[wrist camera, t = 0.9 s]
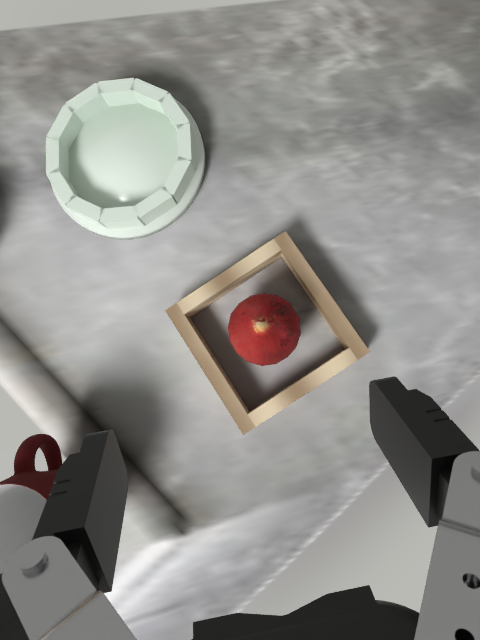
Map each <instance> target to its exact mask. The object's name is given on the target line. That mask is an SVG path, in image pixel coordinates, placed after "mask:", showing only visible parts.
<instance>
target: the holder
mask: <svg viewBox="0 0 480 640" xmlns="http://www.w3.org/2000/svg"><path fill="white" fill-rule="evenodd" d="M280 258H282V259H283V261H284V262H285V263H286V265H287V266H288V268H289V269H290V271H291V272H292V274H293V275H294V276H295V278H296V279H297V281H298V282H299V284H300V285H301V287H302V288H303V289H304V291H305V292H306V294H307V295H308V297H309V298H310V300H311V301H312V302H313V304H314V305H315V307H316V308H317V310H318V311H319V313H320V314H321V315H322V317H323V318H324V320H325V321H326V323H327V324H328V326H329V327H330V328H331V330H332V331H333V333H334V334H335V336H336V337H337V339H338V340H339V341H340V343H341V344H342V346H343V347H344V350H343V351H341V352H340V353H338V354H337V355H335V356H334V357H332V358H330V359H329V360H327V361H326V362H324V363H323V364H321V365H320V366H318V367H317V368H315V369H314V370H312V371H311V372H309V373H308V374H306V375H305V376H303V377H302V378H300V379H298V380H297V381H295V382H294V383H292V384H291V385H289V386H288V387H286V388H285V389H283V390H282V391H280V392H279V393H277V394H276V395H274V396H273V397H271V398H270V399H268V400H267V401H265V402H263V403H262V404H260V405H259V406H257V407H256V408H254V409H253V410H251V411H249V410H248V408H247V406H246V405H245V403H244V402H243V400H242V399H241V397H240V395H239V394H238V392H237V391H236V389H235V388H234V386H233V384H232V383H231V381H230V380H229V378H228V377H227V375H226V373H225V372H224V370H223V369H222V367H221V366H220V364H219V362H218V361H217V359H216V358H215V356H214V355H213V353H212V352H211V350H210V348H209V347H208V345H207V344H206V342H205V341H204V339H203V337H202V336H201V334H200V333H199V331H198V330H197V328H196V326H195V325H194V323H193V322H192V320H191V319H190V317H192V316H193V315H195V314H197V313H198V312H200V311H201V310H203V309H204V308H206V307H207V306H209V305H210V304H212V303H213V302H215V301H216V300H218V299H219V298H221V297H222V296H224V295H225V294H227V293H228V292H230V291H231V290H233V289H234V288H236V287H237V286H239V285H240V284H242V283H243V282H245V281H246V280H248V279H249V278H251V277H252V276H254V275H256V274H257V273H259V272H260V271H262V270H263V269H265V268H266V267H268V266H269V265H271V264H272V263H274V262H275V261H277V260H278V259H280ZM165 311H166V313H167V314H168V316H169V317H170V319H171V321H172V322H173V324H174V325H175V327H176V329H177V330H178V332H179V333H180V335H181V336H182V338H183V340H184V341H185V343H186V344H187V346H188V348H189V349H190V351H191V352H192V354H193V356H194V357H195V359H196V360H197V362H198V363H199V365H200V367H201V368H202V370H203V371H204V373H205V375H206V376H207V378H208V379H209V381H210V383H211V384H212V386H213V387H214V389H215V390H216V392H217V394H218V395H219V397H220V398H221V400H222V402H223V403H224V405H225V406H226V408H227V410H228V411H229V413H230V414H231V416H232V417H233V419H234V421H235V422H236V424H237V425H238V427H239V429H240V430H241V432H242V433H243V435H244V434H246V433H247V432H249V431H250V430H252V429H253V428H255V427H256V426H258V425H259V424H261V423H262V422H264V421H265V420H267V419H268V418H270V417H272V416H273V415H275V414H276V413H278V412H279V411H281V410H282V409H284V408H285V407H287V406H288V405H290V404H291V403H293V402H294V401H296V400H297V399H299V398H300V397H302V396H304V395H305V394H307V393H308V392H310V391H311V390H313V389H314V388H316V387H317V386H319V385H320V384H322V383H323V382H325V381H326V380H328V379H329V378H331V377H332V376H334V375H336V374H337V373H339V372H340V371H342V370H343V369H345V368H346V367H348V366H349V365H351V364H352V363H354V362H355V361H357V360H358V359H360V358H361V357H363V356H364V355H366V354H368V353H369V352H370V351H369V350H368V348H367V347H366V345H365V344H364V342H363V341H362V340H361V338H360V337H359V335H358V334H357V332H356V331H355V330H354V328H353V327H352V325H351V324H350V322H349V321H348V320H347V318H346V317H345V315H344V314H343V312H342V311H341V310H340V308H339V307H338V305H337V304H336V302H335V301H334V300H333V298H332V297H331V295H330V294H329V293H328V291H327V290H326V288H325V287H324V285H323V284H322V283H321V281H320V280H319V278H318V277H317V275H316V274H315V273H314V271H313V270H312V268H311V267H310V265H309V264H308V263H307V261H306V260H305V258H304V257H303V255H302V254H301V253H300V251H299V250H298V248H297V247H296V245H295V244H294V243H293V241H292V240H291V238H290V237H289V235H288V234H287V233H286V231H284V232H283V233H281V234H280V235H278V236H277V237H275V238H274V239H272V240H271V241H269V242H268V243H266V244H265V245H263V246H262V247H260V248H259V249H257V250H256V251H254V252H253V253H251V254H250V255H248V256H247V257H245V258H244V259H242V260H241V261H239V262H238V263H236V264H235V265H233V266H232V267H230V268H229V269H227V270H226V271H224V272H223V273H221V274H220V275H218V276H217V277H215V278H213V279H212V280H210V281H209V282H207V283H206V284H204V285H203V286H201V287H200V288H198V289H197V290H195V291H194V292H192V293H191V294H189V295H188V296H186V297H185V298H183V299H182V300H180V301H179V302H177V303H176V304H174V305H173V306H171V307H170V308H168V309H167V310H165Z"/></svg>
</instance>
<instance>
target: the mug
mask: <svg viewBox="0 0 480 640" xmlns="http://www.w3.org/2000/svg"><path fill="white" fill-rule="evenodd" d="M39 447H40V448H41V450H42V451H43V453H44V456H45V458H46V461H47V465H48V471H42V472H39V471H36V470H35V454H36V451H37V449H38V448H39ZM61 465H62V458H61V452H60V448H59V446H58V444H57V442H56V441H55V439H54V438H52V437H51V436H49V435H46V434H37V435H33V436H31V437H29V438H27V439H26V440H25V441H23V443H22V444H21V445H20V447H19V449H18V451H17V453H16V456H15V460H14V471H15V473H14V475H13V476H11V477H10V478H8V479H6V480H4V481H1V482H0V574H1V573H3V570H4V567H5V565H6V563H7V562H8V560H9V559H10V558H11V556H12V555H13V554H14V553H15V552H16V551H17V550H18V549H19V548H21V547H22V546H23V545H25V544H27V543H28V542H30V541H32V538H33V536H34V533H35V530H36V528H37V525H38V522H39V520H40V517H41V514H42V512H43V509H44V506H45V504H46V501H47V498H48V497H49V493H50V490H51V488H52V485H54V483H53V482H54V480H55V477H56V474H57V472H58V469H59V467H60V466H61Z"/></svg>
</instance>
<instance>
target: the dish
mask: <svg viewBox="0 0 480 640" xmlns="http://www.w3.org/2000/svg"><path fill="white" fill-rule="evenodd" d="M66 104H67V105H64V106H63V107H62V109H61V111H60V113H59V115H58V116H57V118H56V120H55V122H54V124H53V126H52V127H51V129H50V131H49V133H48V135H47V137H48V138H46V174H47V177H48V178H49V180H50V182H51V185H52V188H53V191H54V194H55V196H56V198H57V200H58V202H59V203H60V205H61V206H62V208H63V209H64V210H65V212H66V213H67V214H68V215H69V216H70V217H71V218H72V219H74V220H75V221H76V222H77V223H79V224H80V225H81V226H83V227H84V228H86V229H88V230H89V231H91V232H93V233H95V234H98V235H100V236H104V237H108V238H112V239H136V238H142V237H145V236H149V235H152V234H154V233H157V232H159V231H161V230H163V229H164V228H166V227H168V226H169V225H171V224H172V223H173V222H175V221H176V220H177V219H178V218H179V217H180V216H181V215H182V214H184V213H185V211H186V210H187V209H188V208H189V206H190V205H191V204H192V202H193V200H194V199H195V197H196V195H197V193H198V191H199V189H200V187H201V183H202V180H203V177H204V170H205V150H204V145H203V141H202V137H201V134H200V131H199V129H198V127H197V124H196V122H195V121H194V119H193V117H192V116H191V114H190V113H189V112H188V110H187V109H186V108H185V107H184V106H183V105H182V104H181V103H180V102H179V101H177V100H176V99H175V98H173V97H172V96H171V94H170V93H168V91H165V90H163V89H161V88H158V87H156V86H154V85H151V84H149V83H147V82H144V81H142V80H140V79H137V78H136V79H134V78H126V79H118V80H109V81H100V82H98V84H97V83H95V84H93V85H92V86H90V87H89V88H87V89H86V90H84V91H83V92H81V93H80V94H78V95H77V96H75V97H74V98H72V99H71V100H69V101H68V102H66Z"/></svg>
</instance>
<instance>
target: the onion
mask: <svg viewBox="0 0 480 640" xmlns="http://www.w3.org/2000/svg"><path fill="white" fill-rule="evenodd" d="M228 332H229V338H230V342H231V344H232V346H233V347H234V349H235V351H236V352H237V354H239V355H240V356H241V357H242V358H244V359H245V360H246V361H247V362H250V363H254V364H257V365H261V366H264V365H271V364H277V363H278V362H280V361H282V360H283V359H285V358H287V357H288V356H289V355H290V354H291V353H292V351H293V350H294V349H295V348H296V346H297V343H298V340H299V337H300V334H301V332H300V320H299V317H298V315H297V314H296V312H295V310H294V309H293V307H292V305H291V304H290V303H288V302H287V301H285V300H284V299H282V298H281V297H279V296H278V295H272V294H265V293H263V294H258V295H253V296H250V297H248V298H247V299H245V300H244V301H242V302H241V303H239V304H238V306H237V307H236V308H235V309H234V311H233V312H232V313H231V316H230V320H229V325H228Z"/></svg>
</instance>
